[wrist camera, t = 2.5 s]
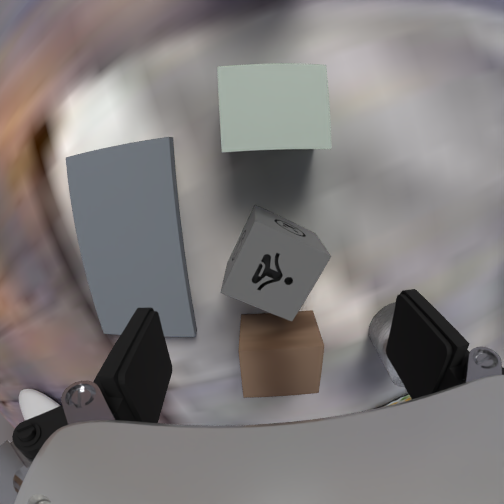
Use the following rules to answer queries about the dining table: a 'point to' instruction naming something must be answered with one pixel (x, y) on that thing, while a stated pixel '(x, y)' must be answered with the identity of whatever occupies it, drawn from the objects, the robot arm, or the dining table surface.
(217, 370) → the dining table surface
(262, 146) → the sage block
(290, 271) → the dice cube
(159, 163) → the slate mat
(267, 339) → the walnut block
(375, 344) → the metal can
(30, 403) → the flower in vase
